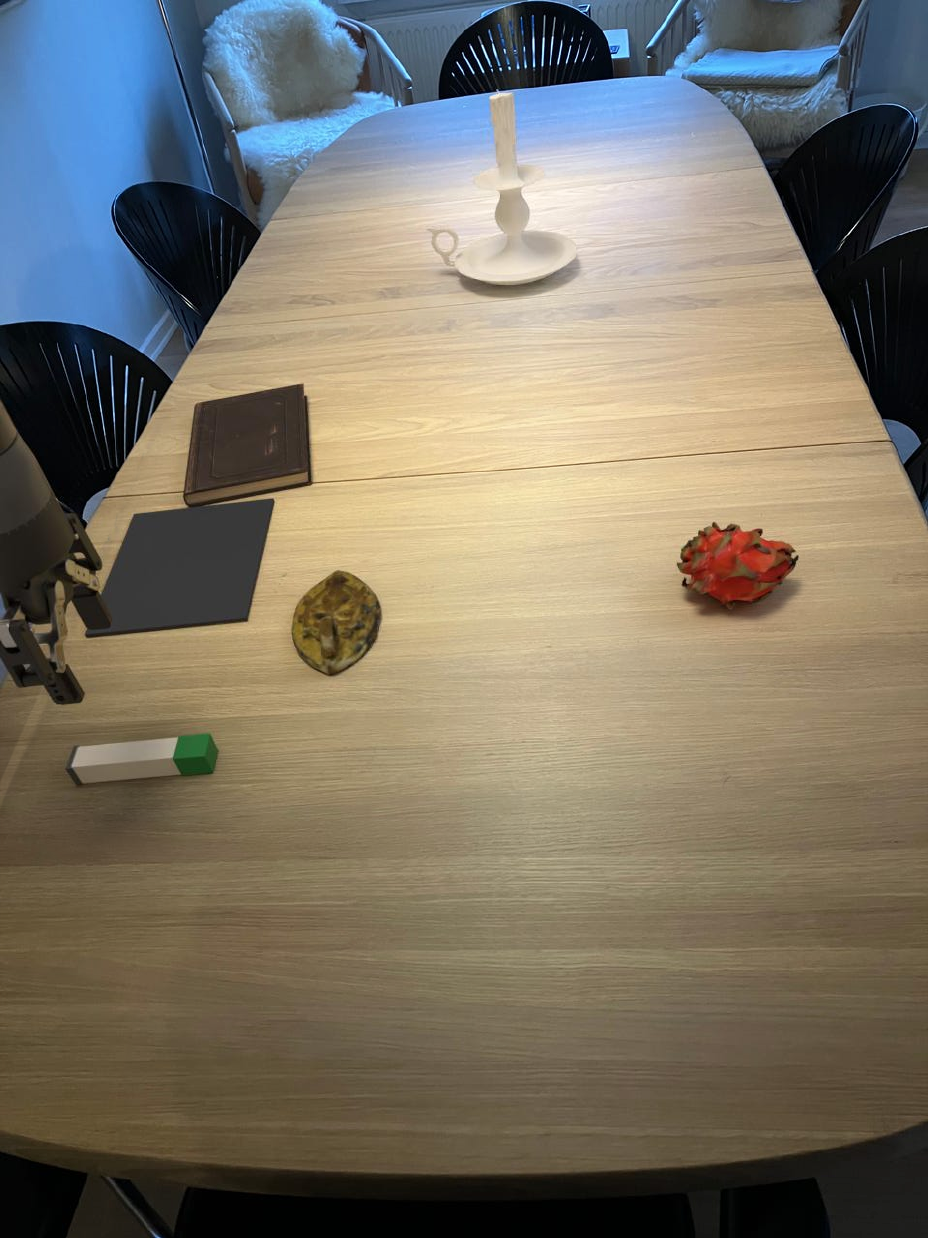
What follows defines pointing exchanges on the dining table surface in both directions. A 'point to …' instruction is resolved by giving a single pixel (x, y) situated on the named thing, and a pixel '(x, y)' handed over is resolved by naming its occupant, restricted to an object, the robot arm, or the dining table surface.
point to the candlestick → (509, 217)
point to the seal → (335, 622)
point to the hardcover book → (248, 446)
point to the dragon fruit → (735, 564)
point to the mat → (186, 567)
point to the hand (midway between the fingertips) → (87, 662)
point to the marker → (143, 759)
